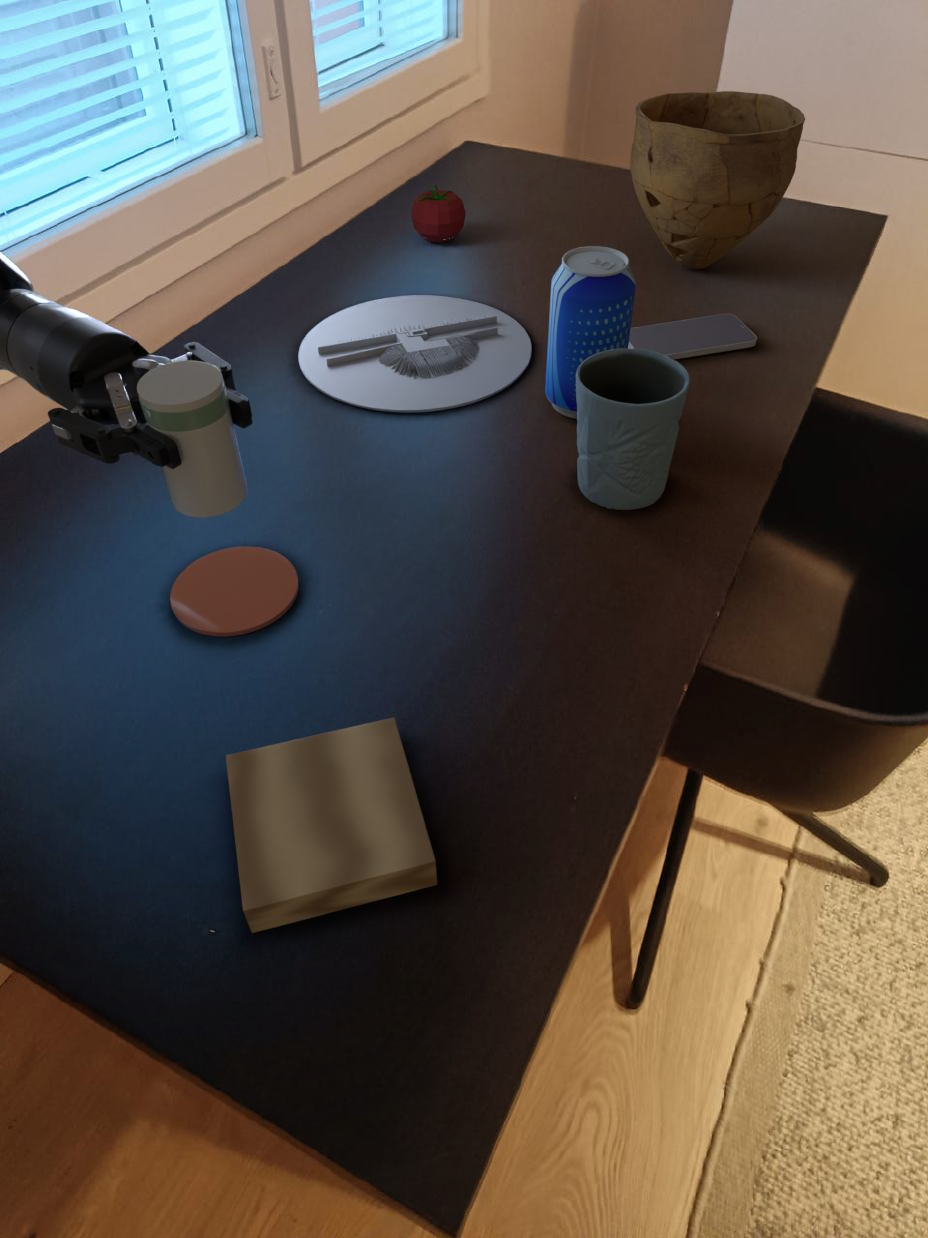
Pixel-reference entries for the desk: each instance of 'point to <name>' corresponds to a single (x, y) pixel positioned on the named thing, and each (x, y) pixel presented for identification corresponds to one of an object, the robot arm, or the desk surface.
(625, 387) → the embossed ceramic tumbler
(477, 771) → the desk surface
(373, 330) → the plate
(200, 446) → the canister
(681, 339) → the smartphone
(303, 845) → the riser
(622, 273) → the beer can
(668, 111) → the bowl
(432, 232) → the tomato
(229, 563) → the coaster
